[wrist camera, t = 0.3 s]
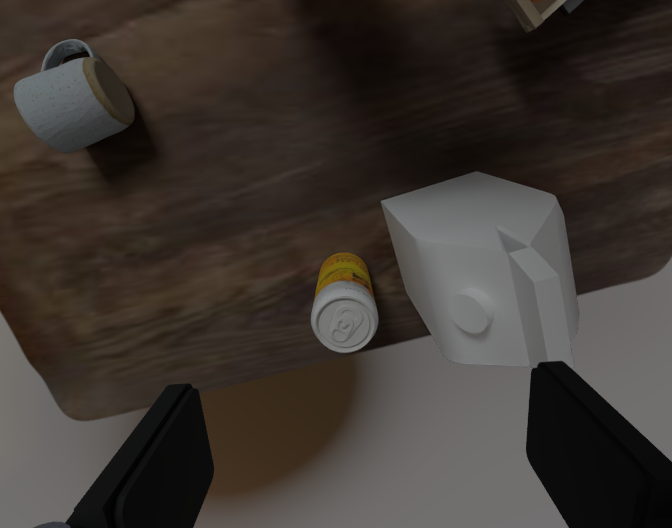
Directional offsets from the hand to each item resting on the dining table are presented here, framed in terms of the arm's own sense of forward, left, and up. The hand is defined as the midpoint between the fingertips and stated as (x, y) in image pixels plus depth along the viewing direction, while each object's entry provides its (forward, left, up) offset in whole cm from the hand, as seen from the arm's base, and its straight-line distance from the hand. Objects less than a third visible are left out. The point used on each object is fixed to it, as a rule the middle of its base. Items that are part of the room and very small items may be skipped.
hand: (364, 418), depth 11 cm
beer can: (+5, -5, -37) cm, 38 cm away
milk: (+9, +7, -37) cm, 39 cm away
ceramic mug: (-29, -12, -37) cm, 49 cm away
